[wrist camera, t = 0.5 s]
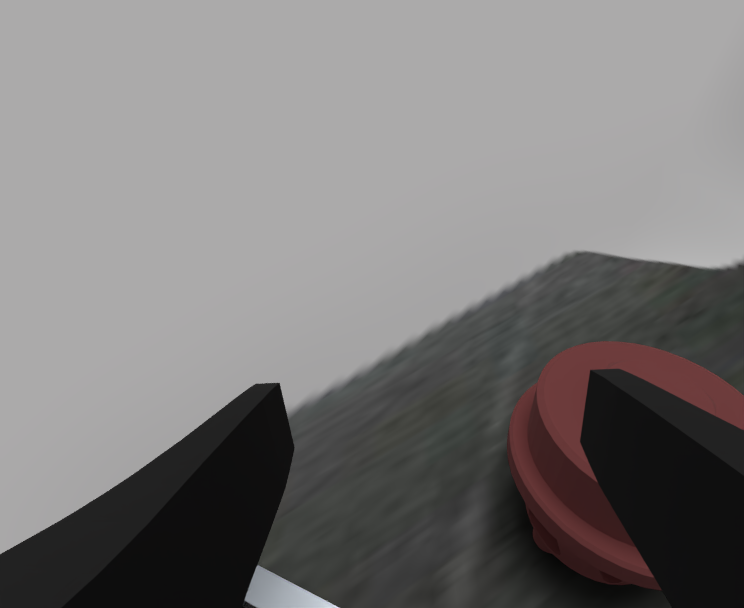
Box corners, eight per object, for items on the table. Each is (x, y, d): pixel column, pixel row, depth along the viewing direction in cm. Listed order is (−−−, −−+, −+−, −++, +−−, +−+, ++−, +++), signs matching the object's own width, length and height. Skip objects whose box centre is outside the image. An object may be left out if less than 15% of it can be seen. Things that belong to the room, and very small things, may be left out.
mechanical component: (533, 421, 28) (700, 505, 22) (466, 539, 22) (667, 691, 17) (565, 290, 20) (835, 368, 14) (477, 421, 15) (856, 629, 9)
